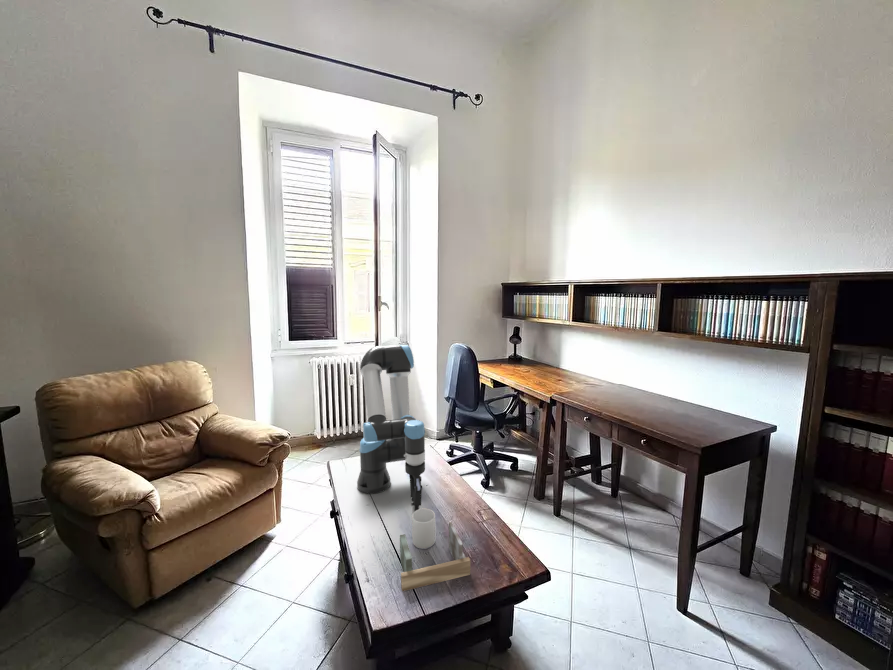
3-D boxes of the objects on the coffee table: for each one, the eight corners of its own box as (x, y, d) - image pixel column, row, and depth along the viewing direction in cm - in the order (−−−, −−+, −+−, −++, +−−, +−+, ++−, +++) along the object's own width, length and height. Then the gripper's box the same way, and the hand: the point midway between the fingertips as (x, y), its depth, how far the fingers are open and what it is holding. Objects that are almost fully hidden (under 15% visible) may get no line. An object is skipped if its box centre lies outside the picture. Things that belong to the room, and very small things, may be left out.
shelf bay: (395, 560, 122) (394, 533, 121) (459, 546, 129) (459, 520, 127) (402, 591, 110) (401, 561, 108) (473, 573, 116) (473, 545, 115)
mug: (405, 532, 136) (404, 506, 135) (425, 525, 140) (424, 500, 138) (418, 552, 125) (417, 525, 124) (439, 544, 129) (439, 518, 128)
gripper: (402, 455, 144) (403, 510, 147) (408, 471, 131) (409, 530, 135) (420, 452, 146) (421, 507, 149) (428, 467, 134) (429, 526, 137)
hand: (416, 518), depth 142 cm, fingers closed
